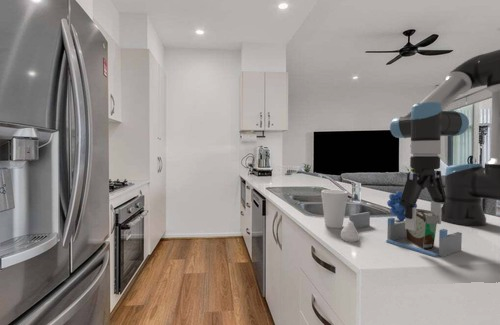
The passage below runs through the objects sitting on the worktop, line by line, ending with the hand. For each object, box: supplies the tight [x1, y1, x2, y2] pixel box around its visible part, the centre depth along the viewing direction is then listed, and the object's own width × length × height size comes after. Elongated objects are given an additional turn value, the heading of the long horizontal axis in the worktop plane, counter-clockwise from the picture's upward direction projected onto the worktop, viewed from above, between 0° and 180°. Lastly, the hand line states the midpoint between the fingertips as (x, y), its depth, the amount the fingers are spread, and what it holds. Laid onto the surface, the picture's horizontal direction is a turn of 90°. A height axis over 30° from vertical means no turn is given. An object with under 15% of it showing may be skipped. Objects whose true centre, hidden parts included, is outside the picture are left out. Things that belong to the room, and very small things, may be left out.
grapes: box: [386, 190, 418, 222], centre depth 112 cm, size 12×7×12 cm, turn 38°
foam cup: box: [320, 189, 349, 229], centre depth 104 cm, size 10×9×13 cm
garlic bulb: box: [340, 220, 360, 243], centre depth 88 cm, size 6×6×5 cm
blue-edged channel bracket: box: [348, 211, 463, 258], centre depth 89 cm, size 12×31×7 cm, turn 30°
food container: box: [405, 208, 440, 251], centre depth 83 cm, size 12×6×10 cm, turn 178°
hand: (423, 226), depth 83 cm, fingers open, 13 cm apart
